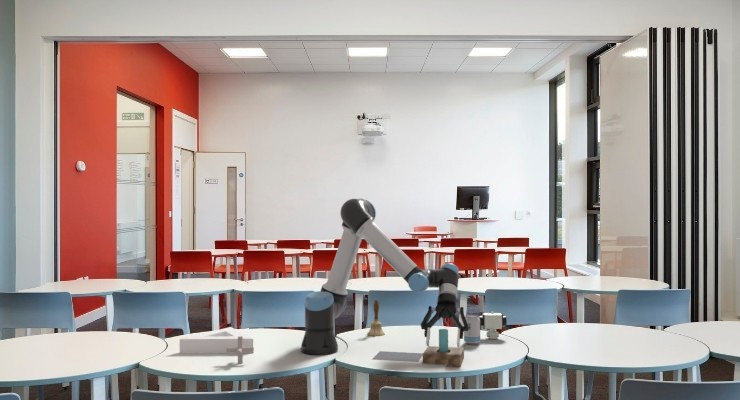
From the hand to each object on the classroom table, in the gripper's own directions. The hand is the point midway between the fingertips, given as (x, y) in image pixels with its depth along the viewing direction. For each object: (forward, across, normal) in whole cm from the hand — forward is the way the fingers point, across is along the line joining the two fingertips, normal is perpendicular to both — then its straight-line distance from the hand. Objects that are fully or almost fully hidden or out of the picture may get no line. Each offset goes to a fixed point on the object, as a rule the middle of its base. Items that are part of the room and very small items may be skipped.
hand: (442, 344), depth 239 cm
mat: (+1, +18, -8) cm, 20 cm away
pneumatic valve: (-30, -16, -40) cm, 53 cm away
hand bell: (-29, +37, -39) cm, 61 cm away
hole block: (+3, 0, -7) cm, 7 cm away
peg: (+3, 0, -7) cm, 8 cm away
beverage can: (-21, -8, -31) cm, 38 cm away
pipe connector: (+16, +75, +6) cm, 77 cm away
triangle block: (-1, +95, -12) cm, 96 cm away
